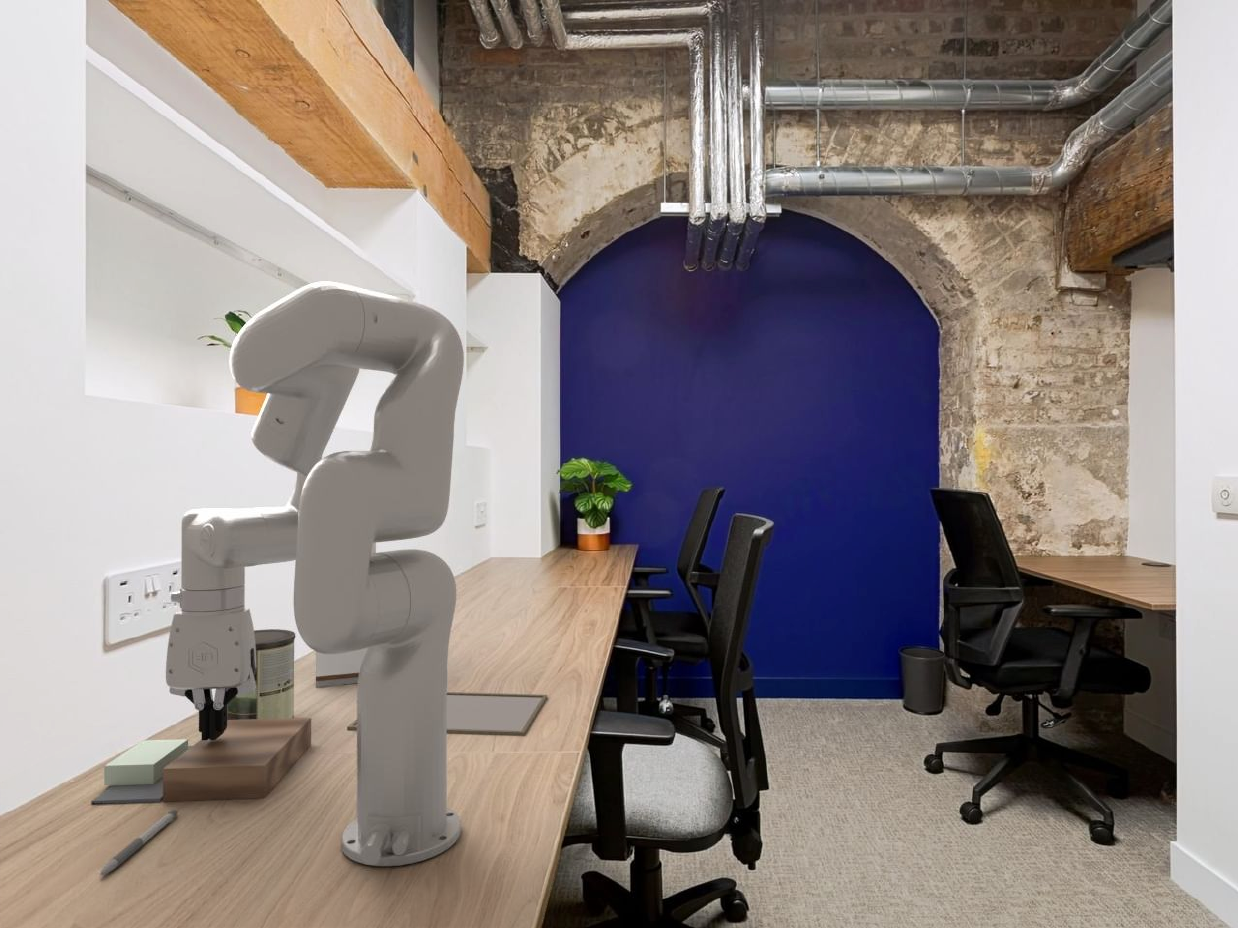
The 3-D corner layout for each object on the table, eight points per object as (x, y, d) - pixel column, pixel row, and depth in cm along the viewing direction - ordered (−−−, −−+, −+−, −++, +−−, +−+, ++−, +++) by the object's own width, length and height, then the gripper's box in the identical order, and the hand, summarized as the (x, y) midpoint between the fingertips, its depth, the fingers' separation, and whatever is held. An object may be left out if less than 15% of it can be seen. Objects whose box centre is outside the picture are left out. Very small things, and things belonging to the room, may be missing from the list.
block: (104, 765, 96) (104, 785, 96) (153, 764, 97) (153, 783, 97) (143, 740, 105) (143, 758, 105) (188, 739, 106) (188, 756, 106)
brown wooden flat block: (264, 797, 93) (264, 765, 93) (162, 801, 92) (163, 768, 92) (311, 744, 111) (311, 717, 111) (226, 747, 110) (226, 719, 110)
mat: (160, 801, 92) (160, 798, 92) (91, 804, 92) (91, 800, 92) (224, 747, 110) (224, 744, 110) (166, 749, 110) (166, 746, 110)
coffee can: (219, 739, 114) (219, 645, 114) (228, 718, 123) (228, 631, 123) (293, 730, 117) (293, 640, 117) (296, 710, 127) (296, 627, 127)
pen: (181, 818, 89) (181, 806, 89) (106, 883, 75) (106, 868, 75) (172, 818, 89) (172, 806, 89) (95, 883, 75) (95, 869, 75)
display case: (375, 681, 144) (375, 498, 145) (315, 687, 140) (316, 499, 141) (371, 667, 155) (372, 496, 155) (316, 672, 151) (316, 497, 151)
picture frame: (347, 733, 118) (524, 738, 115) (347, 726, 118) (524, 732, 115) (394, 696, 137) (547, 700, 134) (394, 690, 137) (547, 694, 134)
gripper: (139, 606, 97) (139, 748, 97) (260, 604, 99) (260, 745, 98) (169, 596, 105) (168, 728, 105) (281, 594, 106) (280, 725, 106)
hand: (213, 736), depth 102 cm, fingers closed
